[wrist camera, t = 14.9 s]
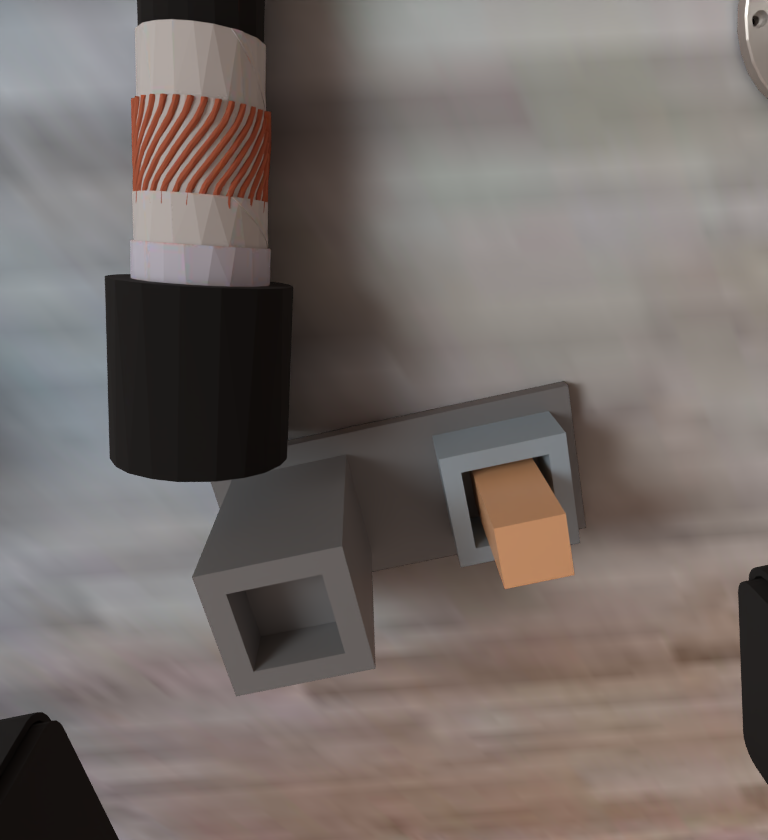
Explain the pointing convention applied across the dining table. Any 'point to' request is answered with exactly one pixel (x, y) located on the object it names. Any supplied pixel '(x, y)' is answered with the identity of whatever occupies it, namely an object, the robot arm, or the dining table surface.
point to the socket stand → (363, 528)
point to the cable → (199, 256)
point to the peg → (522, 523)
